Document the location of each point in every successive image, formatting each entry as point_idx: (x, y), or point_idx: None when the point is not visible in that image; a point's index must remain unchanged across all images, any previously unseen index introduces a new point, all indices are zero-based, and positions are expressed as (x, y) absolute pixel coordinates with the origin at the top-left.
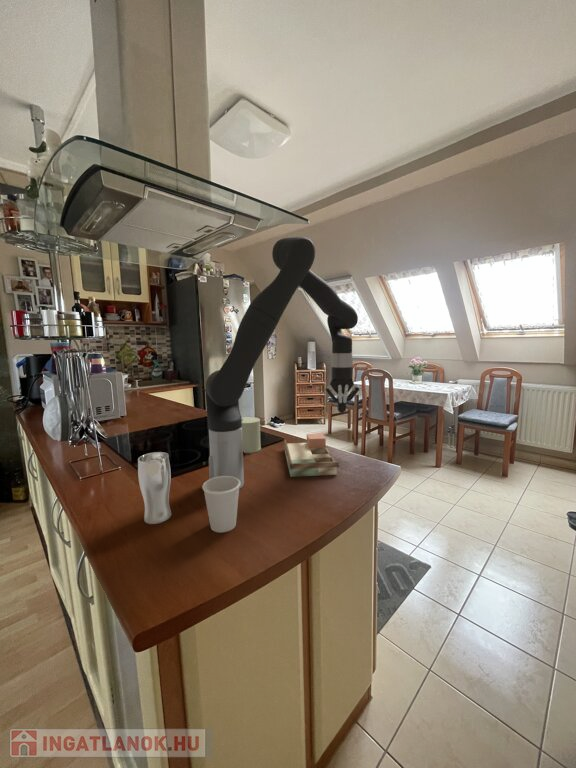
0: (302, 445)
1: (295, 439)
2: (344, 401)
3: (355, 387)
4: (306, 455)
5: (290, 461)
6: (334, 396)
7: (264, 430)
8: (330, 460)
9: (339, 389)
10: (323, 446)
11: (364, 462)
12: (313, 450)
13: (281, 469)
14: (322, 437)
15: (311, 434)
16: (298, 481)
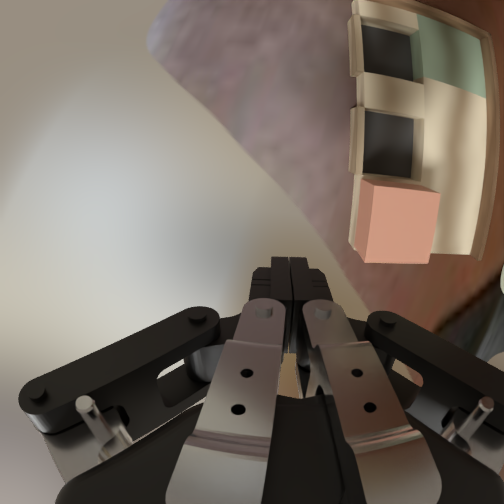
0: None
1: None
2: (271, 303)
3: (62, 438)
4: (442, 115)
5: (492, 51)
6: (415, 350)
7: None
8: (361, 74)
9: (387, 434)
10: (371, 180)
11: (226, 72)
12: (404, 179)
13: None
14: (383, 203)
15: (412, 256)
16: (452, 11)
